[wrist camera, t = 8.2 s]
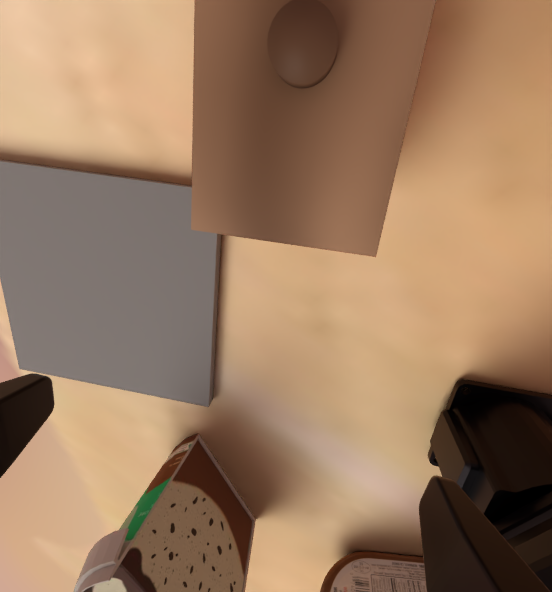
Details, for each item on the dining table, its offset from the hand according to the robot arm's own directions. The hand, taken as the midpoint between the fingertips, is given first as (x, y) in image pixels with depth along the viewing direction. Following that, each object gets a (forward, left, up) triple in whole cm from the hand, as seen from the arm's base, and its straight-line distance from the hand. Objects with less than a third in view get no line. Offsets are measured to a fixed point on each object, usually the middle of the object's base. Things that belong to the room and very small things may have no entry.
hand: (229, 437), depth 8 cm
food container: (+5, +19, -13) cm, 23 cm away
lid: (0, -9, -8) cm, 12 cm away
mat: (+11, +3, -12) cm, 17 cm away
